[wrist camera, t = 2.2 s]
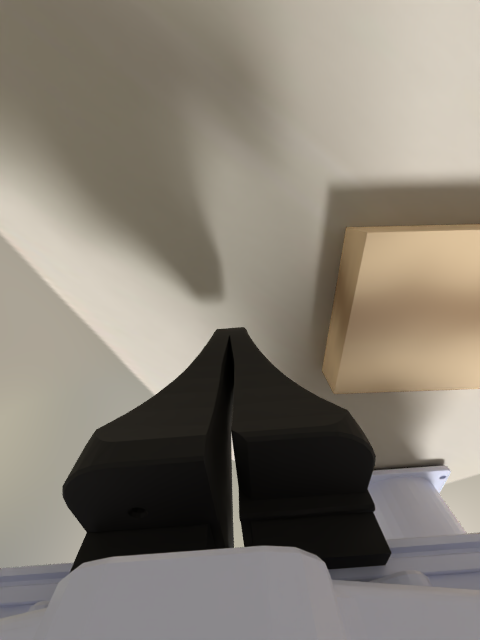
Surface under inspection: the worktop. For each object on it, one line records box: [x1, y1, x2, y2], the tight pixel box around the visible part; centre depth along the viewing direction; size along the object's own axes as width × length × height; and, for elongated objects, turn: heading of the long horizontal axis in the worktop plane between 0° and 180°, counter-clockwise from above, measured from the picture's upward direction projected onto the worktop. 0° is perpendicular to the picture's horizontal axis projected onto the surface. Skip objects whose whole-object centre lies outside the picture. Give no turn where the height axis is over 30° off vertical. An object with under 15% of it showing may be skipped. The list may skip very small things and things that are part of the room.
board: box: [322, 224, 480, 394], centre depth 13 cm, size 8×13×2 cm, turn 91°
